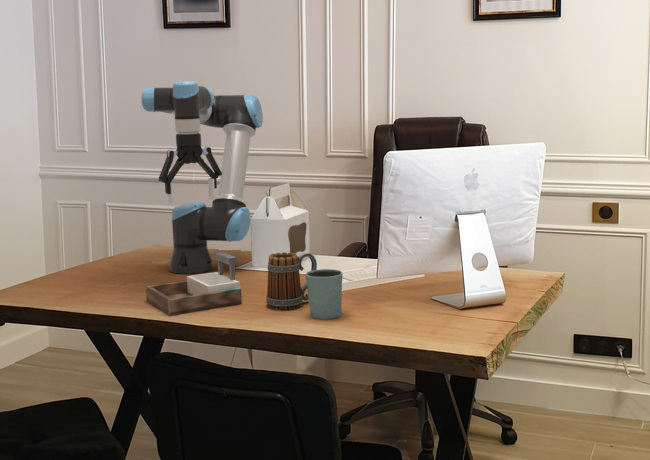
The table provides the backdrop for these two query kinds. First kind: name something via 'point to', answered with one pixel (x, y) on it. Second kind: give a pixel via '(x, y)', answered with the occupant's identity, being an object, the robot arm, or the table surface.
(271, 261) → the mug
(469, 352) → the table surface
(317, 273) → the teal coffee mug
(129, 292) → the table surface
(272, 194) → the gable box
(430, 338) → the table surface
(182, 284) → the bay
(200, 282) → the white box with handle
